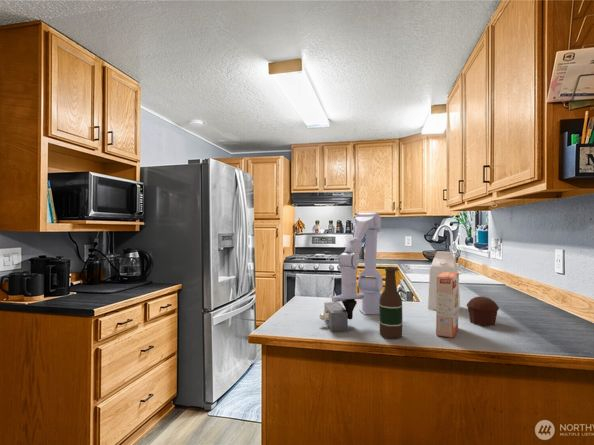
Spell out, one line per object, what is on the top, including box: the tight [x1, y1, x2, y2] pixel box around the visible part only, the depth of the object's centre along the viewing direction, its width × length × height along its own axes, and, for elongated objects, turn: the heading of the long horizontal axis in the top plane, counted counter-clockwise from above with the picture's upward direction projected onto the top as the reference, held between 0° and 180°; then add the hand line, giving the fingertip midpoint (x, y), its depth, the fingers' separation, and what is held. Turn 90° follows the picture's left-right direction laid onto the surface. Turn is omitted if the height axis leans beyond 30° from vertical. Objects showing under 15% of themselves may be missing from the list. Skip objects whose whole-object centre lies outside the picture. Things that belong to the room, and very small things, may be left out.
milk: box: [427, 250, 461, 311], centre depth 159 cm, size 12×12×26 cm
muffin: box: [466, 296, 500, 327], centre depth 135 cm, size 12×11×10 cm
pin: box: [319, 312, 329, 321], centre depth 133 cm, size 10×5×5 cm, turn 95°
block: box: [323, 301, 349, 333], centre depth 133 cm, size 6×16×7 cm, turn 5°
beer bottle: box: [378, 266, 403, 340], centre depth 121 cm, size 8×8×24 cm
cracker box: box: [435, 272, 460, 339], centre depth 124 cm, size 14×6×21 cm, turn 148°
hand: (349, 318), depth 134 cm, fingers closed
